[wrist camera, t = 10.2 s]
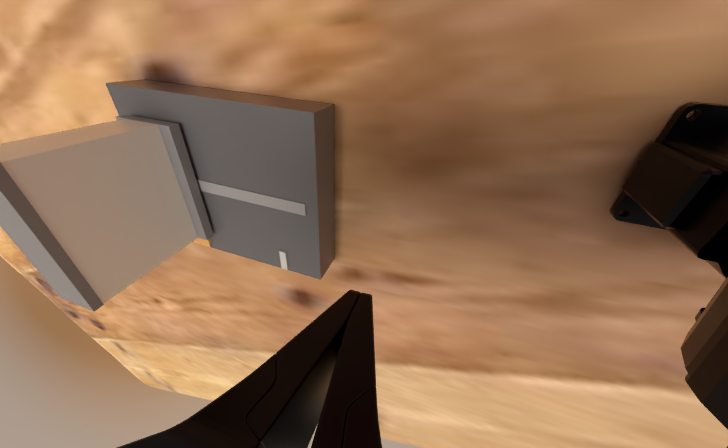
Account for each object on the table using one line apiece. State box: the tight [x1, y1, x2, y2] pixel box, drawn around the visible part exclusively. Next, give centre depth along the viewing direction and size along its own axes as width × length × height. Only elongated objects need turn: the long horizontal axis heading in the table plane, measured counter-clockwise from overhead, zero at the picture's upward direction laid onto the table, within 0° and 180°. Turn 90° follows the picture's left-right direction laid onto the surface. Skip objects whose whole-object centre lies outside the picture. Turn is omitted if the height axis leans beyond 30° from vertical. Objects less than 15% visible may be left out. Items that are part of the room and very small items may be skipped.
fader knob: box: [0, 115, 213, 311], centre depth 19 cm, size 5×10×9 cm, turn 176°
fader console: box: [106, 79, 334, 279], centre depth 23 cm, size 17×14×3 cm
